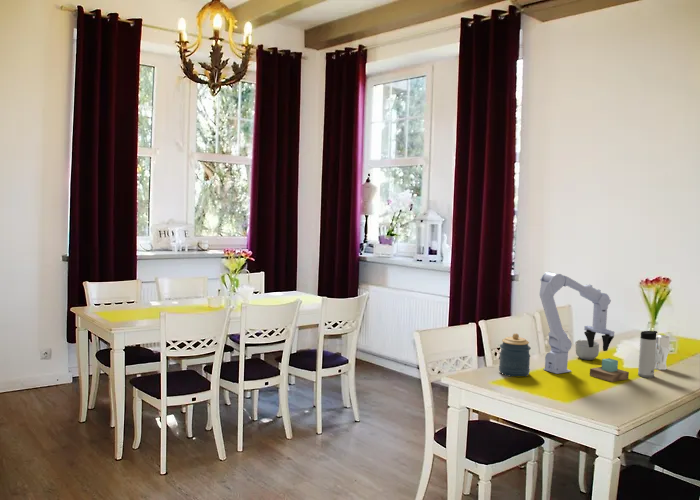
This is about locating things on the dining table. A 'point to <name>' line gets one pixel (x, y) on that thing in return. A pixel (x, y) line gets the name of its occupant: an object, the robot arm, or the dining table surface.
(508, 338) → the canister
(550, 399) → the dining table surface
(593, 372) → the walnut base
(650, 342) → the travel mug
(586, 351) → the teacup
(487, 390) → the dining table surface
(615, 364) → the teal cube
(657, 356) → the beer glass
